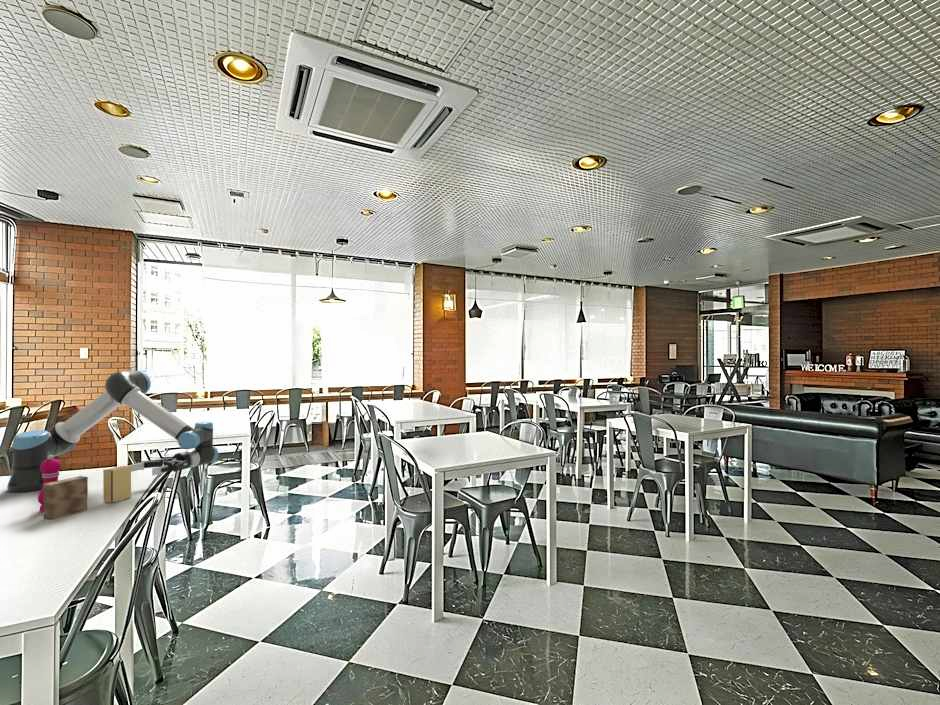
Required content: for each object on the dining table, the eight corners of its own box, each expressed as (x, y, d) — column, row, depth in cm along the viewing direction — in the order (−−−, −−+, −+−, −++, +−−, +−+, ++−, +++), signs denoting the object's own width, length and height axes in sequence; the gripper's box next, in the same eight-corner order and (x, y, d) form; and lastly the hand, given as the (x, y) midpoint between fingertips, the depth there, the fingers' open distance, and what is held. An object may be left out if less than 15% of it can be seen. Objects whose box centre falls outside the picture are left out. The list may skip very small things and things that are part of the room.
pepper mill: (49, 513, 184) (48, 457, 184) (32, 512, 185) (32, 456, 185) (68, 507, 191) (68, 453, 191) (52, 506, 192) (52, 452, 192)
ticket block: (80, 508, 189) (80, 476, 189) (87, 509, 188) (87, 476, 188) (43, 518, 178) (43, 483, 178) (51, 520, 177) (51, 485, 176)
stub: (123, 496, 205) (123, 465, 205) (131, 497, 203) (131, 466, 203) (103, 501, 197) (103, 470, 197) (110, 502, 196) (110, 470, 196)
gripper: (207, 471, 225) (163, 482, 205) (164, 466, 233) (118, 476, 213) (207, 453, 225) (163, 463, 205) (164, 449, 233) (118, 458, 213)
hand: (140, 470), depth 209 cm, fingers open, 13 cm apart
